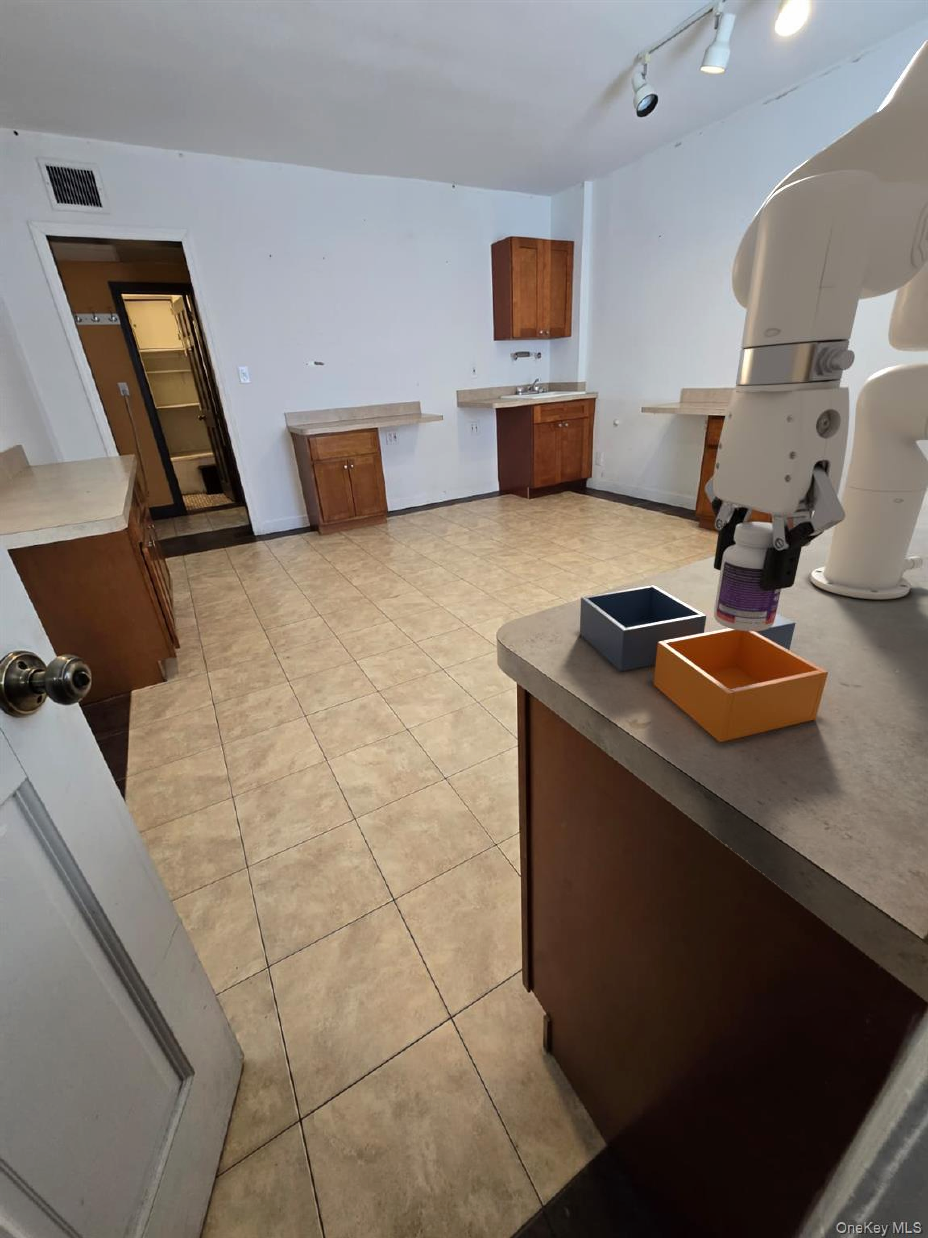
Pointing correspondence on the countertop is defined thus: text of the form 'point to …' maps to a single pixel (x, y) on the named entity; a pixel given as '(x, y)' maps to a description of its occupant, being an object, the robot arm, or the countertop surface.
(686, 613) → the blue bin
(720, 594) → the pill bottle
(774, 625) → the blue block
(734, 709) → the amber bin
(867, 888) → the countertop surface
